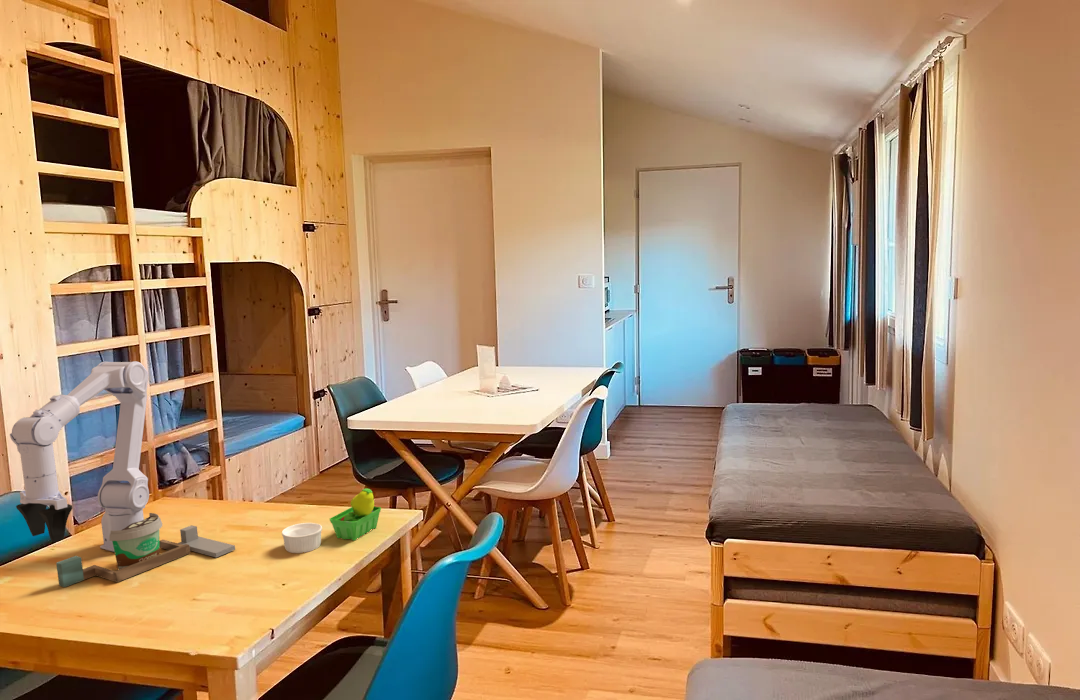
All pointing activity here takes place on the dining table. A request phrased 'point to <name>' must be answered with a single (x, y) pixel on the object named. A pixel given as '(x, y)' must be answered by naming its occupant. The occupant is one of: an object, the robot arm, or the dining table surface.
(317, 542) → the ramekin
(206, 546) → the grey l-shaped block
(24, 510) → the robot arm
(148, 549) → the food container
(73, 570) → the walnut sled
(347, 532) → the fruit basket
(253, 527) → the dining table surface
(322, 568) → the dining table surface
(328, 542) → the dining table surface
